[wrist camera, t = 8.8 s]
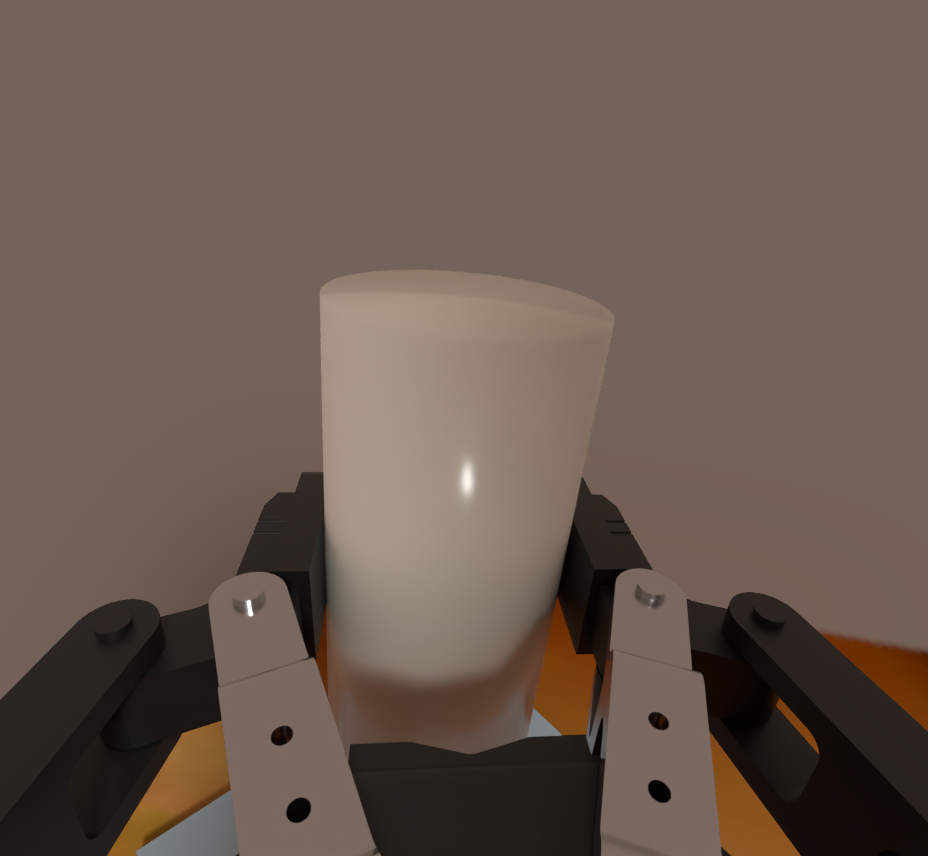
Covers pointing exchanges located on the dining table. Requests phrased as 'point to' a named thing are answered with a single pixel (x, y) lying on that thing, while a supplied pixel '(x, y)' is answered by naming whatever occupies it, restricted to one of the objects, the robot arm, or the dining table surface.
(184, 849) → the mat
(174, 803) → the dining table surface
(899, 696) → the dining table surface
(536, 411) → the cream tall cylinder
